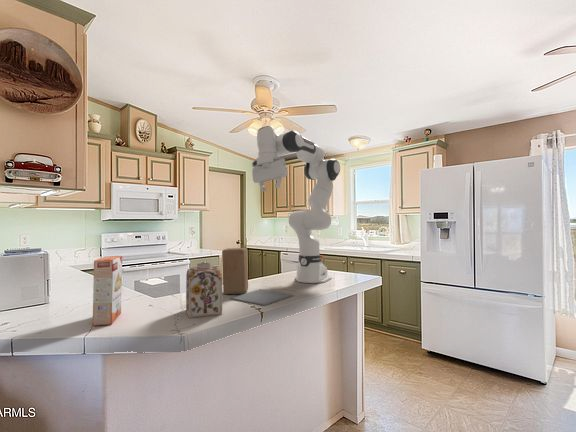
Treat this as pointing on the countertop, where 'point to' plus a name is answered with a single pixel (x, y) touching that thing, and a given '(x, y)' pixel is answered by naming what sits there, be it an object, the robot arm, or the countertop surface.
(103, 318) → the cracker box
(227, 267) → the wooden block
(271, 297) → the charcoal rubber mat
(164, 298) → the countertop surface
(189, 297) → the decorative jar
